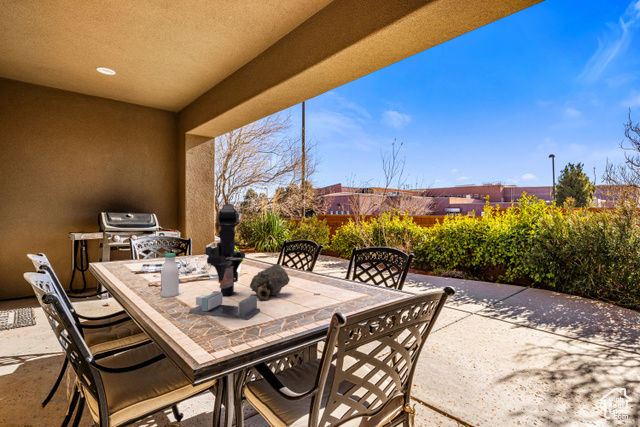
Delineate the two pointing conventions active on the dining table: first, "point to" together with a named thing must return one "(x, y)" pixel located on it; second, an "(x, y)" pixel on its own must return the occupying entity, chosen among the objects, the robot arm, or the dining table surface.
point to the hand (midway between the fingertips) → (227, 278)
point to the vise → (232, 309)
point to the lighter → (227, 276)
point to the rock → (269, 281)
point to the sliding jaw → (209, 301)
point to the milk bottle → (169, 277)
